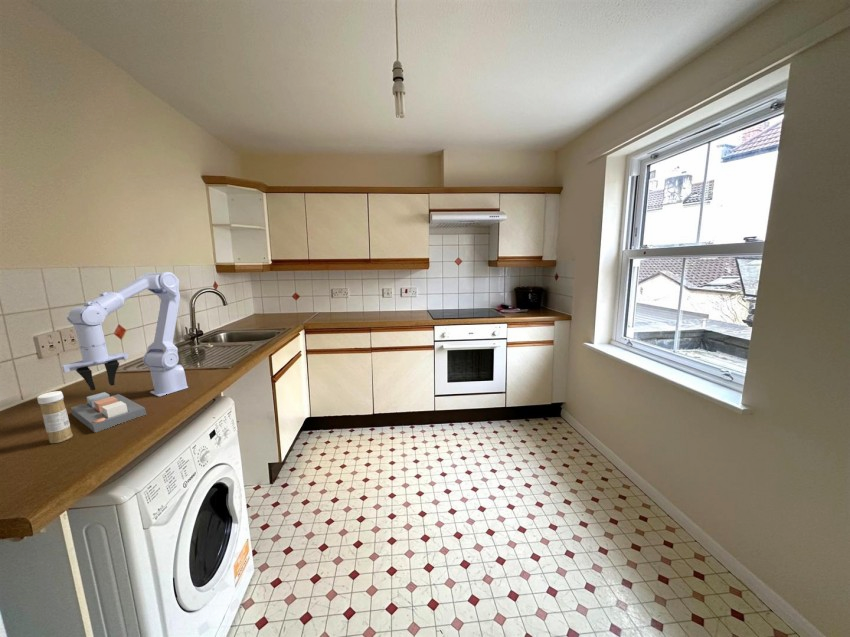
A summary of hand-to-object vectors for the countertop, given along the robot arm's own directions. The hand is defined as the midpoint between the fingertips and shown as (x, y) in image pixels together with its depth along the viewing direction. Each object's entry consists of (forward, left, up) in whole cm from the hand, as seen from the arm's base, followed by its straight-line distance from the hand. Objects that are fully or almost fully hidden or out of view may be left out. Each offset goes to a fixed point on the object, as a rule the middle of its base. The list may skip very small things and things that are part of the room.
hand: (102, 387), depth 104 cm
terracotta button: (0, 0, -8) cm, 8 cm away
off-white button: (0, +8, -8) cm, 11 cm away
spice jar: (+12, +8, -10) cm, 17 cm away
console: (0, 0, -9) cm, 9 cm away
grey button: (0, -8, -8) cm, 11 cm away
